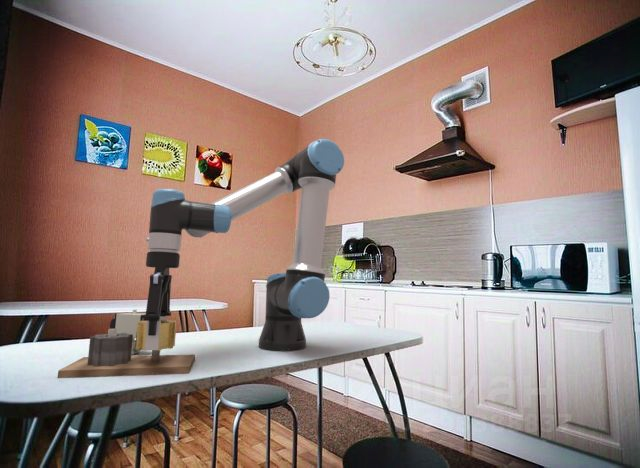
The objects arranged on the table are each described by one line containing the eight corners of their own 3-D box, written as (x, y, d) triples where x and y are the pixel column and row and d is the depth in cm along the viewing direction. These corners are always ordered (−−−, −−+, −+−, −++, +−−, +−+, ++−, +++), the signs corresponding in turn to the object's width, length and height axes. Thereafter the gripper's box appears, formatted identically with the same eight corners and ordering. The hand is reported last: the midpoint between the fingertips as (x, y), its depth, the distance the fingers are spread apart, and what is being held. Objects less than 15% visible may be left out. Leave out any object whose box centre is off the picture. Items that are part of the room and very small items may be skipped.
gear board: (195, 360, 93) (197, 325, 94) (189, 373, 80) (191, 332, 81) (83, 363, 87) (87, 325, 88) (57, 378, 74) (62, 333, 75)
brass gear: (140, 344, 88) (143, 319, 89) (176, 343, 90) (178, 319, 91) (131, 350, 80) (134, 323, 81) (170, 350, 82) (173, 323, 83)
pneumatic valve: (143, 356, 96) (147, 311, 97) (106, 353, 98) (110, 309, 100) (156, 352, 101) (160, 309, 103) (121, 350, 103) (125, 308, 105)
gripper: (156, 253, 97) (149, 339, 94) (135, 247, 77) (125, 355, 74) (185, 255, 99) (179, 338, 96) (172, 249, 79) (164, 355, 76)
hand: (155, 346), depth 85 cm, fingers closed on brass gear, 8 cm apart
